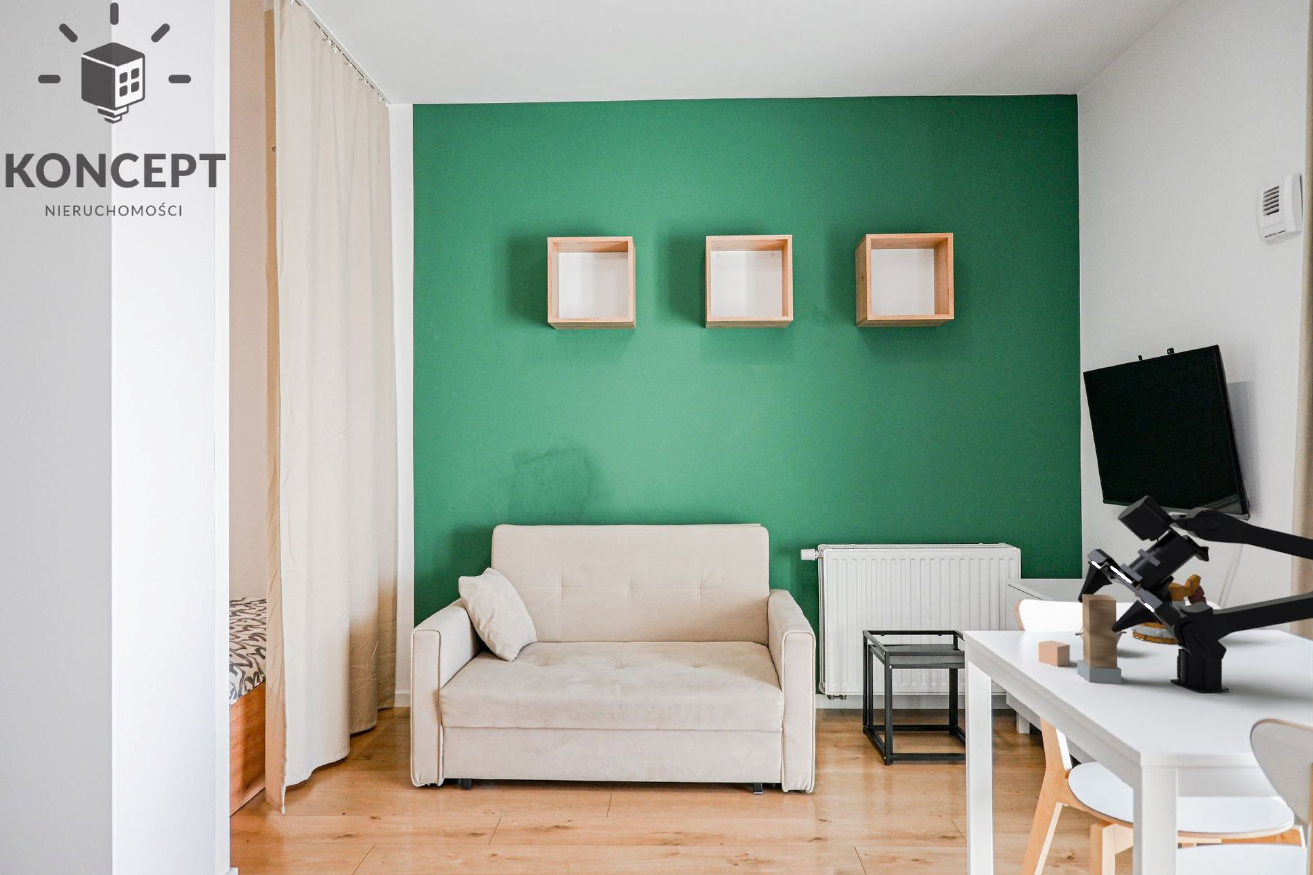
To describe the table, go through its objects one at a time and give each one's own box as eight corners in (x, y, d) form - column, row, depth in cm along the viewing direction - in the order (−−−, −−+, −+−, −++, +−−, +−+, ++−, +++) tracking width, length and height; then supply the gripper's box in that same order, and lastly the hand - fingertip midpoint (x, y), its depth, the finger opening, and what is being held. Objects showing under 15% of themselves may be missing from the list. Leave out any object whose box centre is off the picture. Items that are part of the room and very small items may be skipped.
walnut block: (1109, 660, 148) (1108, 594, 148) (1117, 668, 144) (1116, 600, 144) (1083, 659, 149) (1082, 594, 149) (1090, 666, 145) (1088, 599, 145)
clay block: (1069, 664, 157) (1069, 644, 157) (1057, 667, 155) (1057, 646, 155) (1051, 660, 160) (1051, 640, 161) (1038, 662, 158) (1038, 642, 159)
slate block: (1107, 676, 149) (1107, 661, 149) (1121, 685, 144) (1121, 669, 144) (1077, 675, 150) (1077, 659, 150) (1089, 684, 145) (1089, 667, 145)
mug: (1119, 632, 186) (1120, 569, 186) (1191, 634, 185) (1191, 570, 186) (1146, 644, 175) (1146, 576, 175) (1222, 646, 174) (1222, 578, 175)
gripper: (1222, 611, 140) (1151, 669, 142) (1144, 555, 156) (1083, 607, 159) (1195, 579, 135) (1123, 639, 138) (1118, 525, 152) (1055, 579, 155)
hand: (1095, 615), depth 148 cm, fingers open, 9 cm apart
